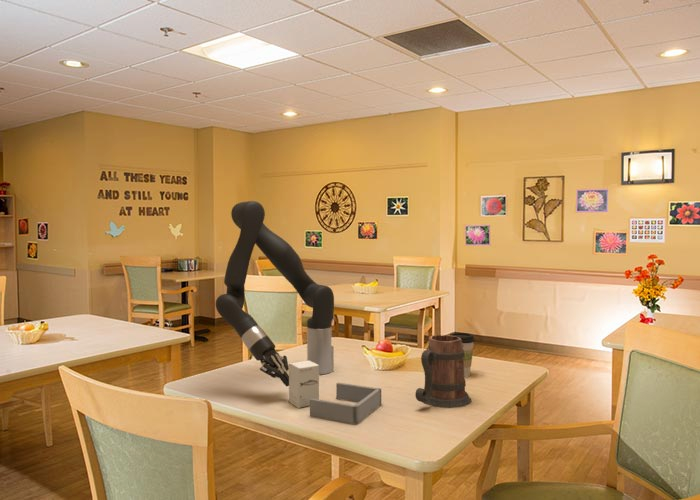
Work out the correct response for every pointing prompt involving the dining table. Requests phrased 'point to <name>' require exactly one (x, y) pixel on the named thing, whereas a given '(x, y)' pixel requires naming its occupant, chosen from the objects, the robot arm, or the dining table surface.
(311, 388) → the supplement box
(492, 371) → the dining table surface
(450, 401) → the tankard
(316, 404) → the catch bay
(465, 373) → the coffee cup
